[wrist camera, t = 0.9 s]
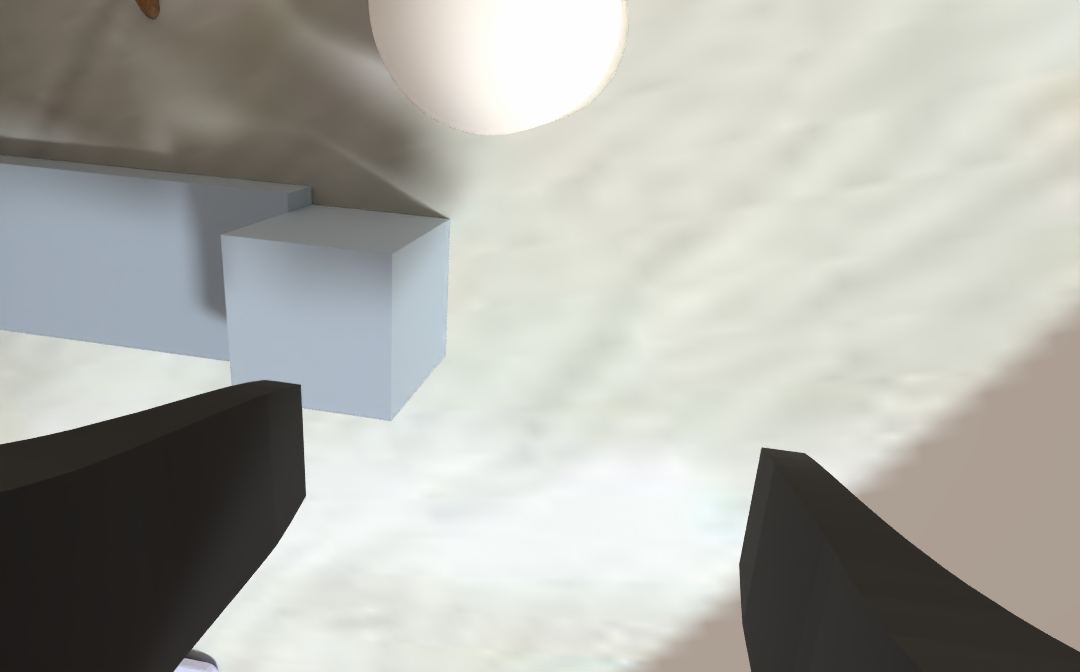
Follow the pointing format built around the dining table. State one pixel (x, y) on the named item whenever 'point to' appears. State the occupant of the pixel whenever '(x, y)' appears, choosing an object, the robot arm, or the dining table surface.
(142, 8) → the hand saw
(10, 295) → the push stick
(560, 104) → the white rounded cylinder
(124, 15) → the dining table surface
